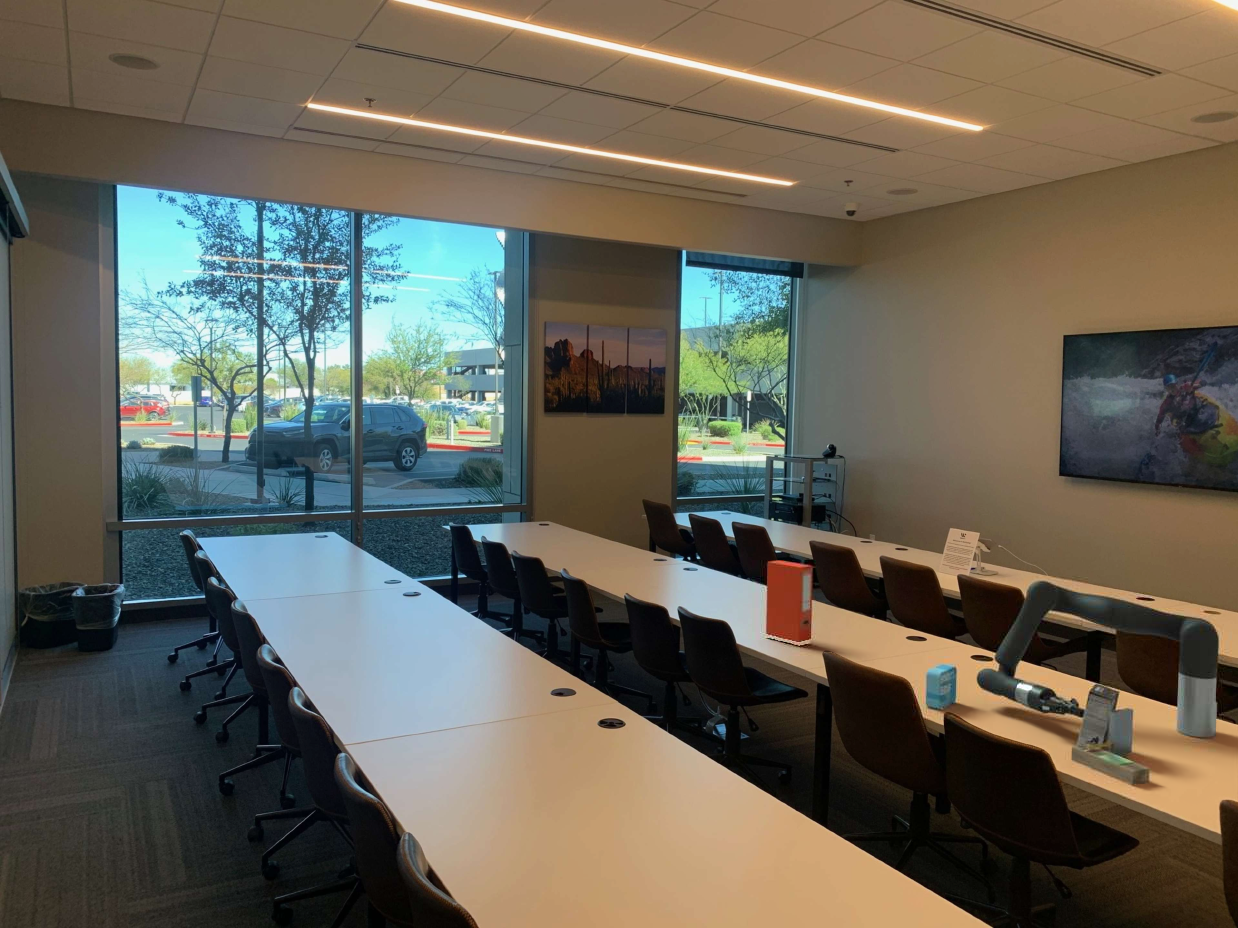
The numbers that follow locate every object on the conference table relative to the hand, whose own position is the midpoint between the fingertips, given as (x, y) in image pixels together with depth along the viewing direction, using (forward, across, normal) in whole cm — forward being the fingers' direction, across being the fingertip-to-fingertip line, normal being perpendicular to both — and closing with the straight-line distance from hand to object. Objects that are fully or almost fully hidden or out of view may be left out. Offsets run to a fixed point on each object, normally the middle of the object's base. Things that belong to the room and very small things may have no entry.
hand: (1084, 714), depth 251 cm
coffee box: (+3, 0, +8) cm, 9 cm away
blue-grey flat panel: (+11, -4, +7) cm, 14 cm away
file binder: (-128, -16, +8) cm, 129 cm away
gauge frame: (+17, -10, +9) cm, 21 cm away
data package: (-41, -14, +8) cm, 45 cm away
